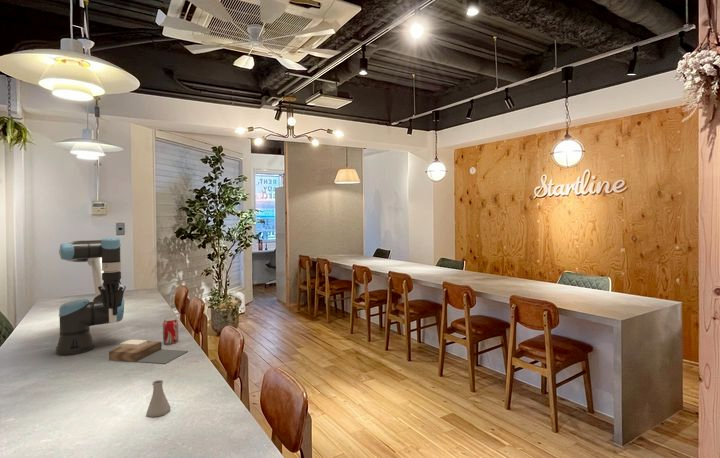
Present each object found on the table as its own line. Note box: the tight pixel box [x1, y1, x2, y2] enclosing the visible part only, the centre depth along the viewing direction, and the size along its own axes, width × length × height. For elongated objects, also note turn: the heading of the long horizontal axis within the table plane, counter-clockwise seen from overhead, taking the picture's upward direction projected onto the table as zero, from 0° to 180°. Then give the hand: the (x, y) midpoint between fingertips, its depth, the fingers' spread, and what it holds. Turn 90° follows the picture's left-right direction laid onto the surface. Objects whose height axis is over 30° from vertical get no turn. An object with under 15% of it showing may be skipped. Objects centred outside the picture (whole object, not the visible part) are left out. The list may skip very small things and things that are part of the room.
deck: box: [108, 340, 162, 363], centre depth 184 cm, size 14×16×4 cm
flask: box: [145, 379, 171, 418], centre depth 130 cm, size 7×7×10 cm
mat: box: [136, 348, 189, 365], centre depth 181 cm, size 14×16×1 cm
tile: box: [119, 339, 148, 349], centre depth 184 cm, size 9×6×2 cm, turn 79°
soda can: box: [162, 317, 179, 345], centre depth 202 cm, size 7×7×12 cm
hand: (112, 322), depth 186 cm, fingers closed
